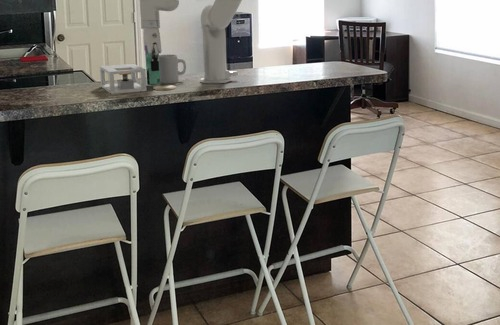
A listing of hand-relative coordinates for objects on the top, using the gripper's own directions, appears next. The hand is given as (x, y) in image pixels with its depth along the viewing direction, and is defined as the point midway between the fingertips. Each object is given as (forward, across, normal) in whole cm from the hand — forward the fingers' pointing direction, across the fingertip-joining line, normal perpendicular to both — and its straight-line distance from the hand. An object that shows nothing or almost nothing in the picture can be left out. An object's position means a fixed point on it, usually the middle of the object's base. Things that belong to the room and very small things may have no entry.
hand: (153, 69), depth 283 cm
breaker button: (+3, -6, +13) cm, 15 cm away
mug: (+7, +6, -10) cm, 13 cm away
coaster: (+7, -9, -2) cm, 11 cm away
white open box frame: (+6, -2, +13) cm, 15 cm away
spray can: (+7, 0, 0) cm, 7 cm away
